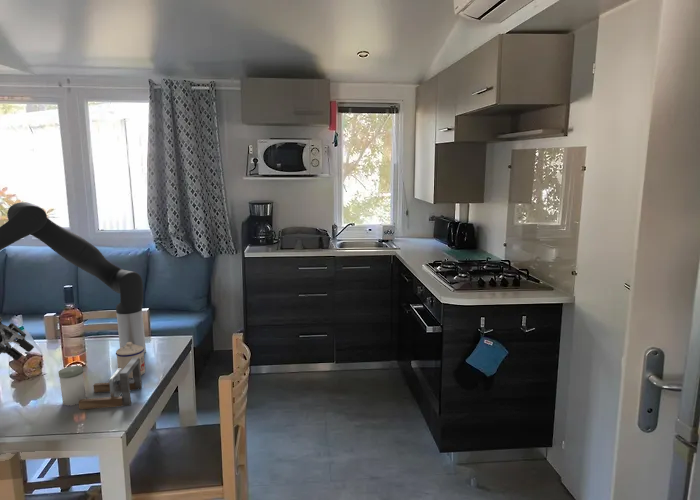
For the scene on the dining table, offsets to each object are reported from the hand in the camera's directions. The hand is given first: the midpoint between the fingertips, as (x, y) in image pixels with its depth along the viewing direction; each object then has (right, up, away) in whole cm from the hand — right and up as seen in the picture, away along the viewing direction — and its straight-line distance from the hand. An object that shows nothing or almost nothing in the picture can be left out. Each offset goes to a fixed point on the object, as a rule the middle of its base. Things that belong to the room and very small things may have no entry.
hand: (25, 353), depth 149 cm
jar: (+13, -16, +4) cm, 21 cm away
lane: (+23, -15, +6) cm, 28 cm away
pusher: (+28, -15, +6) cm, 32 cm away
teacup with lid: (+22, -12, +25) cm, 36 cm away
